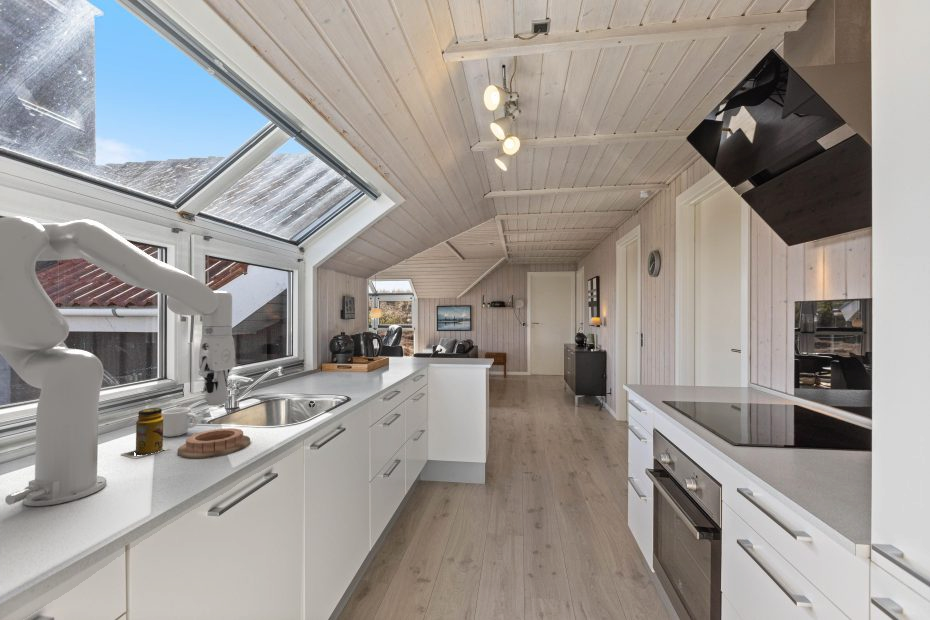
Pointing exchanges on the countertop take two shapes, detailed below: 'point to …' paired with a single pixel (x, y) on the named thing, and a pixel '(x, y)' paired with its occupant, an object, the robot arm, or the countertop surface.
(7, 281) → the robot arm
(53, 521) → the countertop surface
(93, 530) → the countertop surface
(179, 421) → the cup
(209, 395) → the salt shaker
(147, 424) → the condiment
